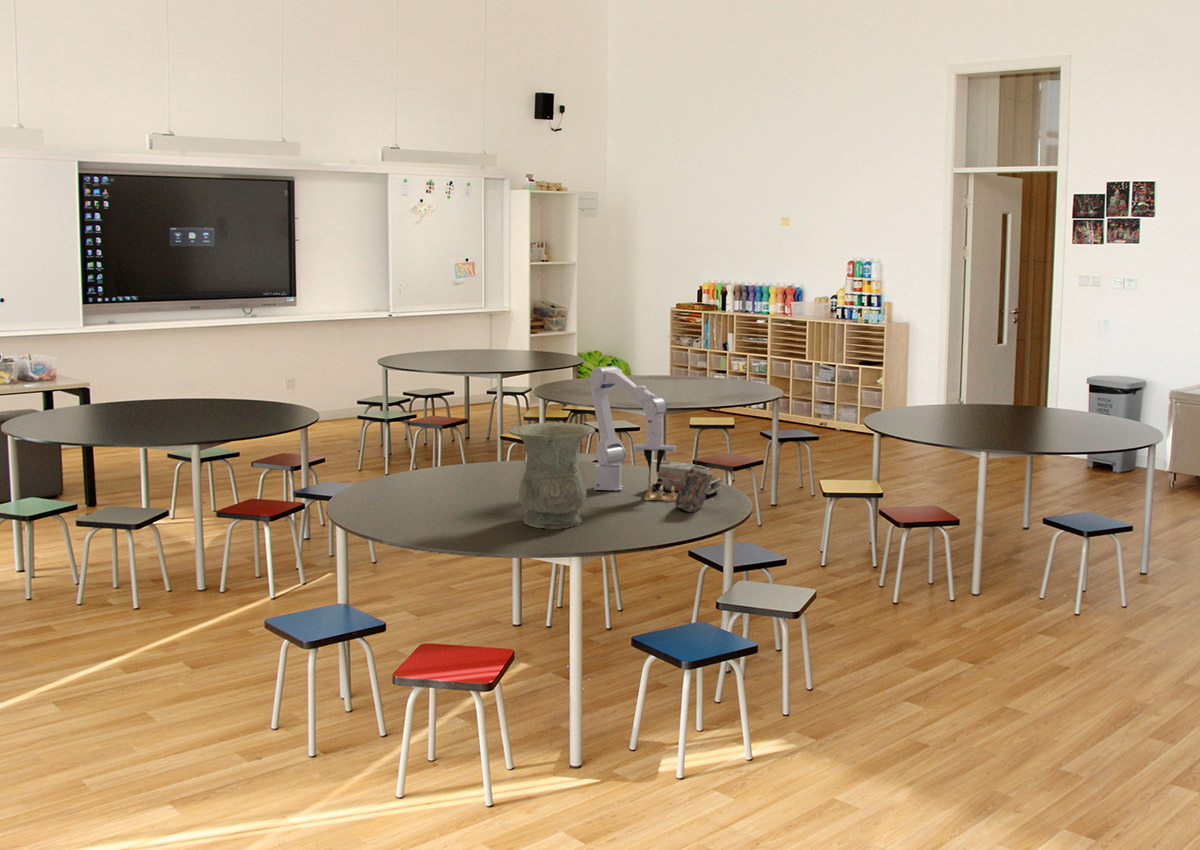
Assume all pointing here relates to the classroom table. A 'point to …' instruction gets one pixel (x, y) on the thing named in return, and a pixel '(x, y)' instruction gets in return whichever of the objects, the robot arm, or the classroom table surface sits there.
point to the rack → (661, 494)
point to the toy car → (679, 477)
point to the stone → (694, 489)
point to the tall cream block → (654, 472)
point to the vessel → (552, 474)
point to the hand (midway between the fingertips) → (654, 471)
